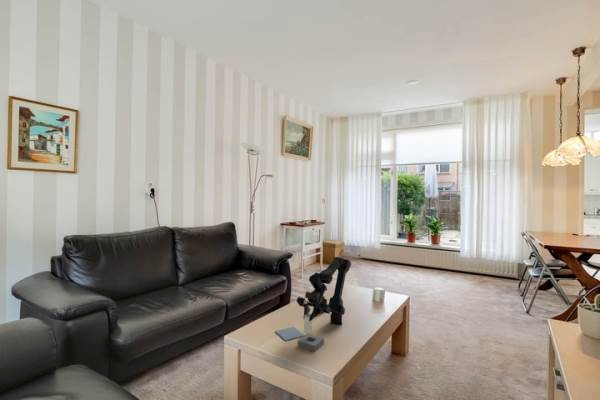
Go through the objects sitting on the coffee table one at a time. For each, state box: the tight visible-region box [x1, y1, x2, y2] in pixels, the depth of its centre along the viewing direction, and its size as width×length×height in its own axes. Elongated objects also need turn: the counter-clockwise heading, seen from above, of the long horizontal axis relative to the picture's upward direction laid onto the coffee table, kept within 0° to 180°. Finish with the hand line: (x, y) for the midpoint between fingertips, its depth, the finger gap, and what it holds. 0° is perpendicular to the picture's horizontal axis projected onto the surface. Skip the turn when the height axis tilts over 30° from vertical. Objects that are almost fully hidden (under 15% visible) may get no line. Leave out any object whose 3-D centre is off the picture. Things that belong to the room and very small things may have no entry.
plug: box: [303, 313, 313, 334], centre depth 156 cm, size 3×3×9 cm
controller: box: [320, 295, 328, 314], centre depth 198 cm, size 4×12×10 cm, turn 142°
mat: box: [274, 326, 305, 342], centre depth 166 cm, size 12×12×1 cm
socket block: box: [297, 333, 325, 353], centre depth 154 cm, size 10×10×3 cm
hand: (306, 320), depth 154 cm, fingers closed on plug, 3 cm apart
